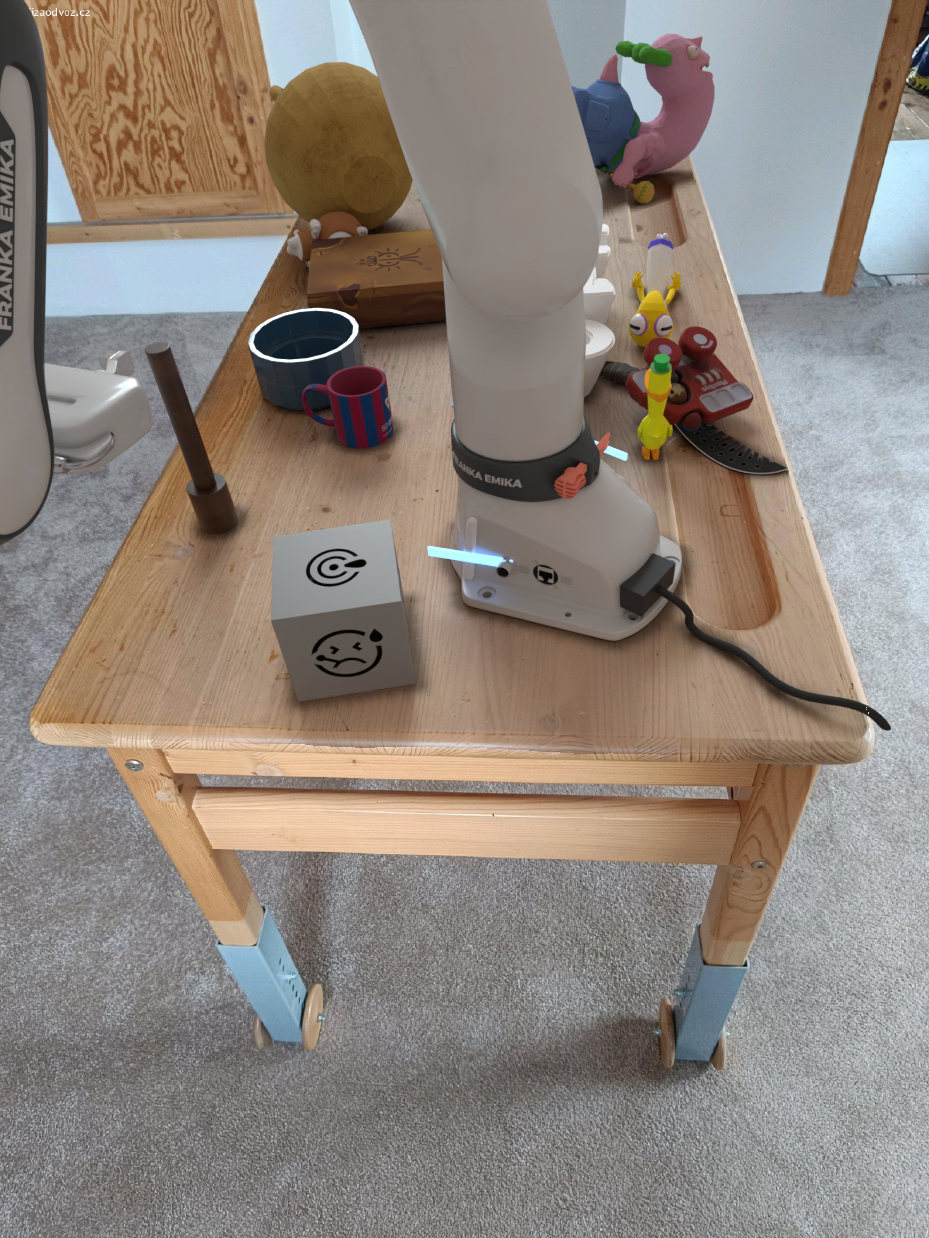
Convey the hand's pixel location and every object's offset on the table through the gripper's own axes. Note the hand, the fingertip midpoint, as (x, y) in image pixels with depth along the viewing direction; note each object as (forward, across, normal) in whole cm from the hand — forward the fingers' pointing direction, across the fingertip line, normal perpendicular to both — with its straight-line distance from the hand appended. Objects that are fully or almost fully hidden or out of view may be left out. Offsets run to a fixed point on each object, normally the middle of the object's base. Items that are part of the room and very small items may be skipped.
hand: (68, 350), depth 63 cm
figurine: (+68, +15, +19) cm, 72 cm away
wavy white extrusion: (+54, -28, +21) cm, 64 cm away
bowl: (+40, 0, +24) cm, 46 cm away
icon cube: (-2, -22, +25) cm, 33 cm away
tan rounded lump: (+77, +5, +12) cm, 78 cm away
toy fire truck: (+43, -42, +15) cm, 62 cm away
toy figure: (+32, -43, +22) cm, 58 cm away
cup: (+30, -9, +24) cm, 40 cm away
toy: (+106, -15, +4) cm, 107 cm away
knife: (+37, -44, +21) cm, 61 cm away
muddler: (+12, -1, +25) cm, 28 cm away
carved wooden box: (+64, -3, +23) cm, 68 cm away
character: (+62, -40, +20) cm, 77 cm away
